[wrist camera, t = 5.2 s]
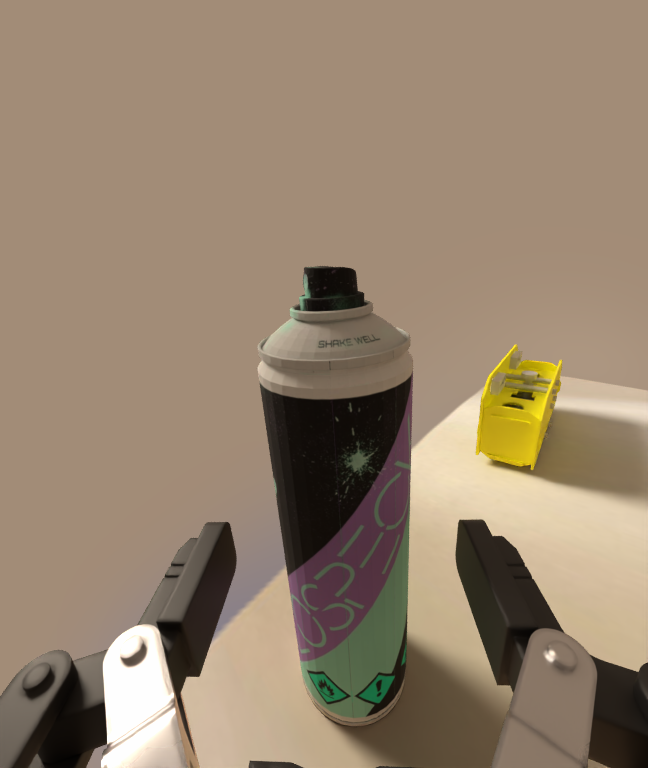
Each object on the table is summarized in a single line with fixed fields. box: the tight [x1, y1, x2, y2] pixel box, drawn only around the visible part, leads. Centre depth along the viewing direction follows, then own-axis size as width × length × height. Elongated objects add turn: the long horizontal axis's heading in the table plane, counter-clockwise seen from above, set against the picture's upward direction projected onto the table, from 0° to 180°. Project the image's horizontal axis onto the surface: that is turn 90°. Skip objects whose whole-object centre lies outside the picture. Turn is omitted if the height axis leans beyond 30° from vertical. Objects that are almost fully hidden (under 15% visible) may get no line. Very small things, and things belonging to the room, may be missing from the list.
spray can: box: [258, 266, 413, 726], centre depth 15 cm, size 6×6×20 cm
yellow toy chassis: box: [476, 345, 562, 470], centre depth 37 cm, size 16×6×8 cm, turn 143°
